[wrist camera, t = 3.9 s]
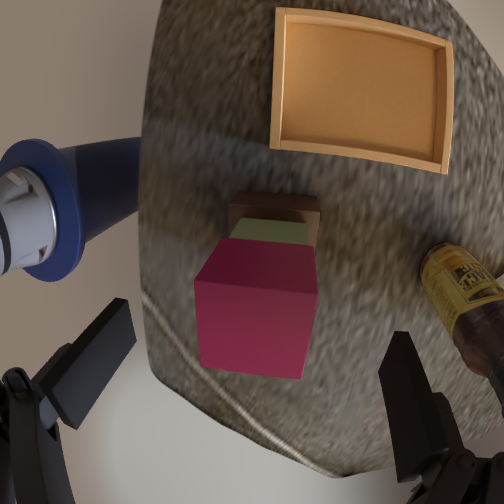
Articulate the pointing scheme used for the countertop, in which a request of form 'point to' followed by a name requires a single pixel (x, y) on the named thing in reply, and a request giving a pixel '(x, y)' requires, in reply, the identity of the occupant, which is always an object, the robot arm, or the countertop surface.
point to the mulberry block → (256, 307)
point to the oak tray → (361, 89)
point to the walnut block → (276, 210)
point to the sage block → (271, 231)
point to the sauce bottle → (468, 309)
